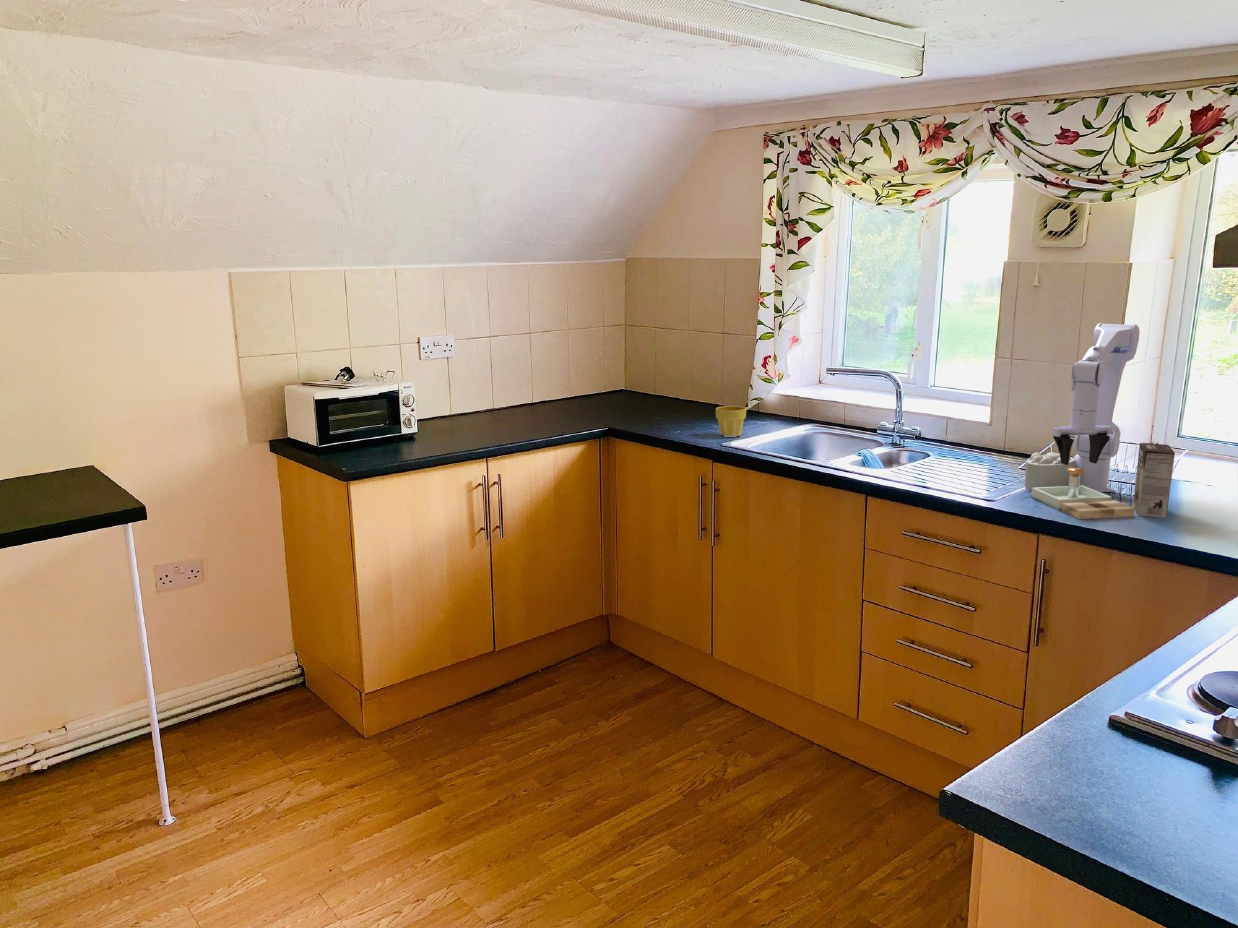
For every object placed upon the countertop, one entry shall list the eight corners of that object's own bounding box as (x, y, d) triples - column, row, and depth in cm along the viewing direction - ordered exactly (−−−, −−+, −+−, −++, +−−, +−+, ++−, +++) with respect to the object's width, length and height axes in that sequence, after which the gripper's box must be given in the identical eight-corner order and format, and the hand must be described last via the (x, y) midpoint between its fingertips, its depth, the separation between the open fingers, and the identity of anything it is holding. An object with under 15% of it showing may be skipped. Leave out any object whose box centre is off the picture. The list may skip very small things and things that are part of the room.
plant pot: (710, 434, 327) (710, 406, 325) (738, 432, 330) (738, 404, 328) (722, 440, 318) (723, 411, 315) (750, 437, 321) (751, 409, 318)
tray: (1030, 497, 242) (1031, 487, 242) (1081, 494, 244) (1082, 485, 244) (1058, 509, 231) (1059, 499, 230) (1110, 506, 233) (1112, 497, 232)
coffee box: (1131, 506, 233) (1139, 442, 230) (1161, 508, 231) (1169, 444, 227) (1136, 515, 225) (1144, 449, 221) (1167, 518, 223) (1175, 451, 219)
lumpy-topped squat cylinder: (1079, 486, 251) (1081, 454, 249) (1049, 494, 245) (1051, 462, 243) (1044, 479, 260) (1046, 448, 258) (1014, 487, 253) (1015, 455, 251)
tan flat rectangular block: (1061, 511, 229) (1062, 503, 229) (1114, 508, 231) (1115, 500, 231) (1079, 519, 223) (1080, 511, 222) (1133, 516, 225) (1134, 508, 224)
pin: (1070, 502, 235) (1073, 471, 233) (1060, 498, 239) (1063, 467, 237) (1084, 501, 236) (1088, 470, 234) (1074, 497, 239) (1078, 467, 238)
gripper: (1066, 413, 228) (1061, 468, 231) (1121, 411, 230) (1115, 465, 233) (1049, 408, 235) (1044, 461, 238) (1103, 406, 237) (1098, 459, 240)
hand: (1078, 463), depth 236 cm, fingers open, 7 cm apart
